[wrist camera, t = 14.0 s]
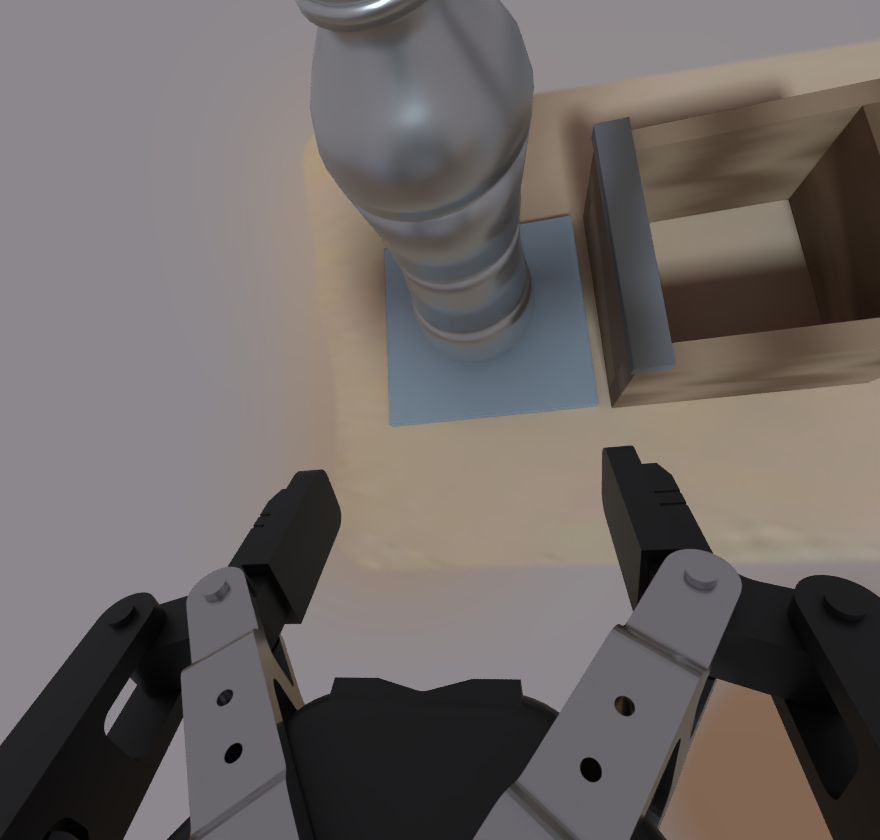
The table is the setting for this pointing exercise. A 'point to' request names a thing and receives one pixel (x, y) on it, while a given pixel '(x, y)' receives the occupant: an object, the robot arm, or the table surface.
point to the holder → (731, 186)
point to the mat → (510, 375)
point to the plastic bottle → (433, 154)
